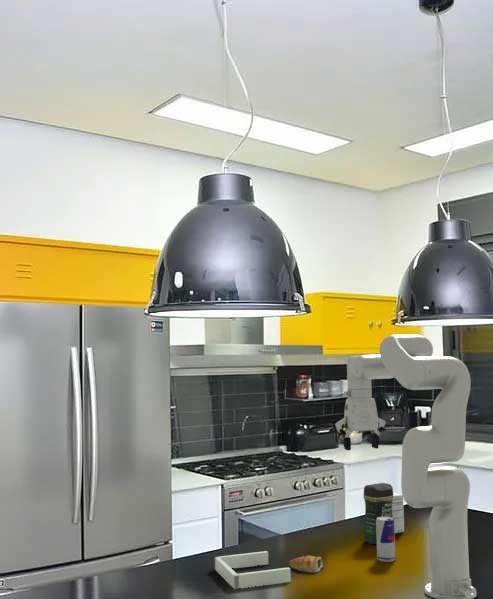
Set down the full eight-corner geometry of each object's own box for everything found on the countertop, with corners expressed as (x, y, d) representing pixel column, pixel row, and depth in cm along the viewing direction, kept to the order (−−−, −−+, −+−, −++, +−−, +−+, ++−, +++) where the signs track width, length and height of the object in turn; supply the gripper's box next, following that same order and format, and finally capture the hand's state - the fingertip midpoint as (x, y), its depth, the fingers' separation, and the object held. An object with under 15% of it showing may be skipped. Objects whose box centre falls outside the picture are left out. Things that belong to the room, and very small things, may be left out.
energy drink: (395, 562, 206) (394, 520, 207) (377, 561, 207) (375, 520, 208) (395, 557, 211) (394, 516, 212) (377, 556, 212) (376, 516, 213)
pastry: (286, 570, 201) (285, 557, 202) (294, 564, 207) (293, 550, 208) (317, 574, 197) (317, 560, 198) (324, 567, 204) (324, 553, 204)
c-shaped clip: (290, 581, 191) (290, 568, 191) (234, 589, 185) (234, 575, 186) (267, 563, 208) (266, 551, 208) (214, 569, 203) (214, 557, 203)
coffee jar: (377, 547, 223) (375, 487, 224) (360, 541, 229) (358, 483, 231) (399, 542, 228) (397, 483, 230) (382, 536, 235) (380, 480, 236)
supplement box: (374, 530, 244) (373, 492, 245) (391, 527, 247) (390, 490, 248) (387, 534, 238) (385, 496, 238) (405, 532, 241) (403, 494, 242)
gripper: (340, 396, 218) (341, 452, 217) (389, 394, 224) (391, 448, 222) (329, 394, 225) (331, 449, 224) (378, 393, 231) (379, 445, 229)
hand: (361, 448), depth 223 cm, fingers open, 9 cm apart
